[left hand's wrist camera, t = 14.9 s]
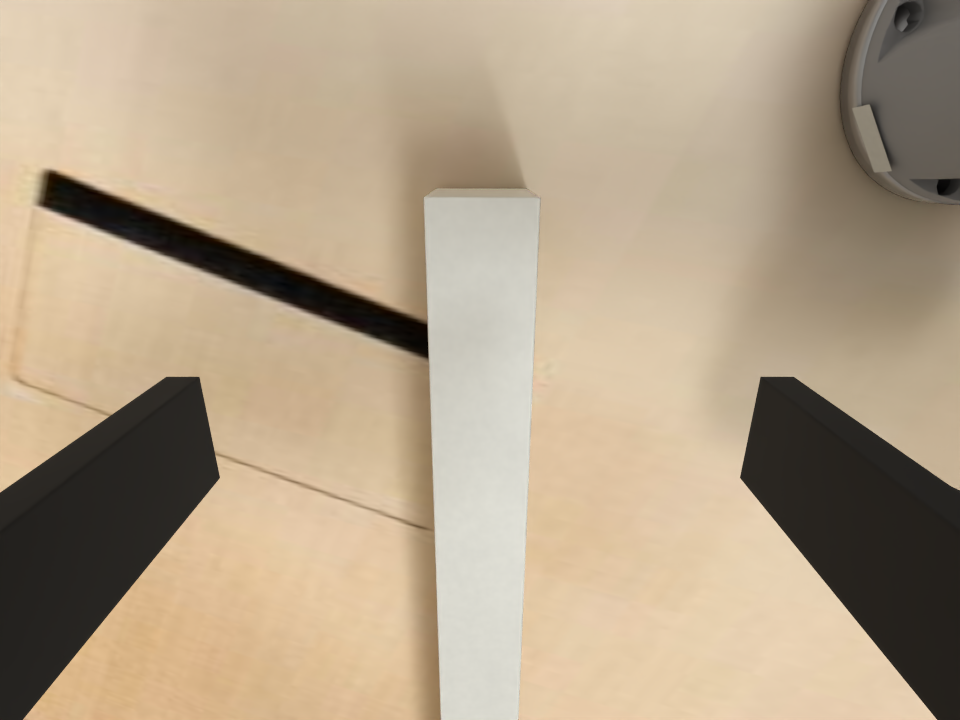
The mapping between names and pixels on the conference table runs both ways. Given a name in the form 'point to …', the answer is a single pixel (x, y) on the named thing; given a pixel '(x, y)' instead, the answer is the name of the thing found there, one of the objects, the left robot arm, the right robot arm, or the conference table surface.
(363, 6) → the conference table surface
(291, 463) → the conference table surface
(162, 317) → the conference table surface
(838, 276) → the conference table surface
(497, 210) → the post
